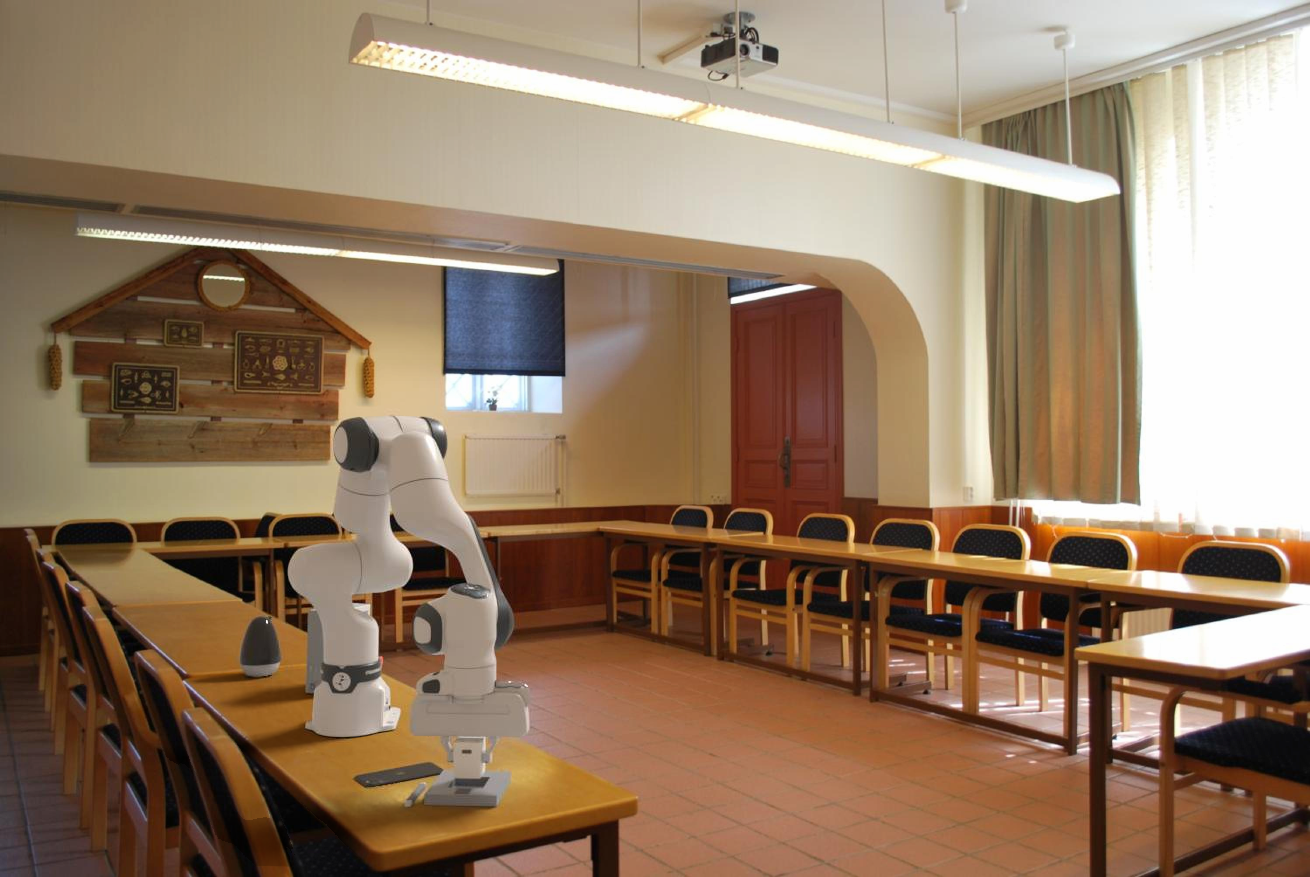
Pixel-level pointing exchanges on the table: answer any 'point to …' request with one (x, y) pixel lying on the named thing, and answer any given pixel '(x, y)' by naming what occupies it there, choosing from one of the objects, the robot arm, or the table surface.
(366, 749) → the table surface
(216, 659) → the table surface
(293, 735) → the table surface
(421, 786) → the bar
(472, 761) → the brick
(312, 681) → the hard drive box
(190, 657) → the table surface
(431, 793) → the plate
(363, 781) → the smartphone
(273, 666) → the grey egg on base
